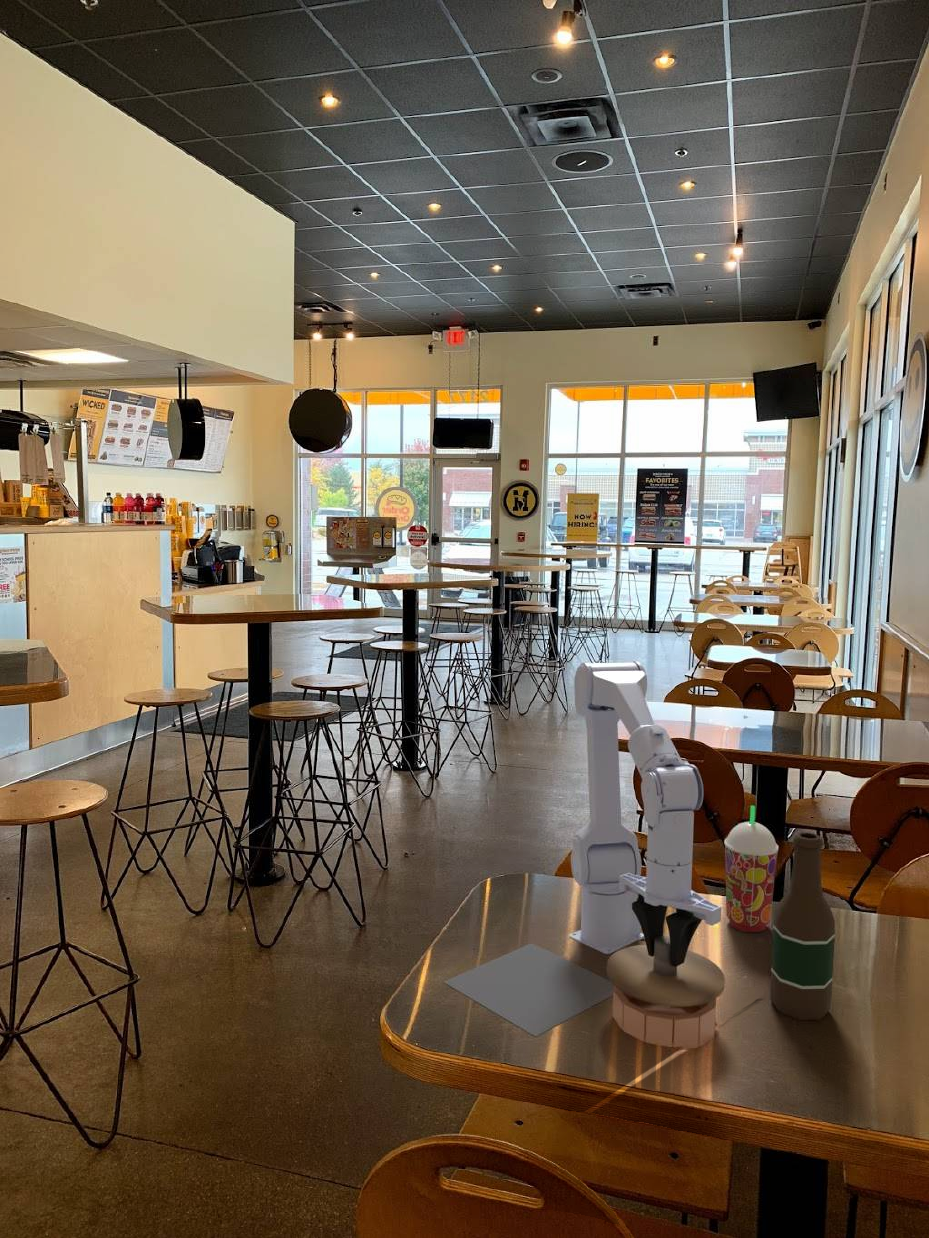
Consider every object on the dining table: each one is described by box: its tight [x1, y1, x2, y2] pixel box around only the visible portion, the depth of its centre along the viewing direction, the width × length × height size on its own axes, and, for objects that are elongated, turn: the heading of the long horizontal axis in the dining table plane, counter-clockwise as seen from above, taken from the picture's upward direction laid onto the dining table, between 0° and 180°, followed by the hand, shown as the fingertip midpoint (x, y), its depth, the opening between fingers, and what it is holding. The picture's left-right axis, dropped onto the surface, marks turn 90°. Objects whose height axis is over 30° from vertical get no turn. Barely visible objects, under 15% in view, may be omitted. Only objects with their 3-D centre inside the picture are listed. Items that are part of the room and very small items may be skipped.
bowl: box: [612, 986, 718, 1051], centre depth 118 cm, size 13×13×4 cm
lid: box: [606, 935, 726, 1007], centre depth 117 cm, size 15×15×5 cm
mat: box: [443, 942, 615, 1038], centre depth 126 cm, size 18×18×1 cm
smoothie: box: [723, 805, 779, 933], centre depth 145 cm, size 8×8×20 cm
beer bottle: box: [769, 831, 836, 1021], centre depth 120 cm, size 8×8×24 cm
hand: (666, 958), depth 117 cm, fingers closed on lid, 3 cm apart
